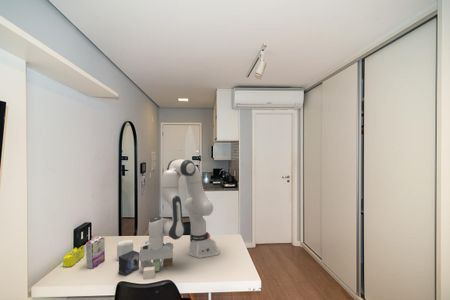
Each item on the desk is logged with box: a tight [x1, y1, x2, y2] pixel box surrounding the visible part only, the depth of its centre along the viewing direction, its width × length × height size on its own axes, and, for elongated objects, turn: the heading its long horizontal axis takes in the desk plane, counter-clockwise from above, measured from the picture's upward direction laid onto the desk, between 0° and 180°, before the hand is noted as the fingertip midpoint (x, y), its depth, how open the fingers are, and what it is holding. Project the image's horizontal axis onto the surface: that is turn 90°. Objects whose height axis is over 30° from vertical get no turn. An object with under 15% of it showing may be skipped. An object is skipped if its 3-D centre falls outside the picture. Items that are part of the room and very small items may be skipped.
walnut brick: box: [162, 256, 174, 267], centre depth 153 cm, size 4×6×5 cm, turn 101°
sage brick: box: [152, 259, 161, 272], centre depth 146 cm, size 4×6×5 cm, turn 11°
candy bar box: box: [85, 235, 106, 270], centre depth 153 cm, size 11×5×16 cm, turn 170°
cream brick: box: [142, 266, 156, 280], centre depth 138 cm, size 4×6×5 cm, turn 101°
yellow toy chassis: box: [62, 245, 85, 268], centre depth 157 cm, size 16×6×8 cm, turn 5°
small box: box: [117, 249, 140, 277], centre depth 144 cm, size 11×6×10 cm, turn 151°
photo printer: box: [116, 239, 134, 262], centre depth 161 cm, size 10×4×12 cm, turn 123°
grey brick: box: [140, 260, 150, 269], centre depth 151 cm, size 4×6×5 cm, turn 41°
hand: (156, 265), depth 146 cm, fingers closed on sage brick, 4 cm apart
